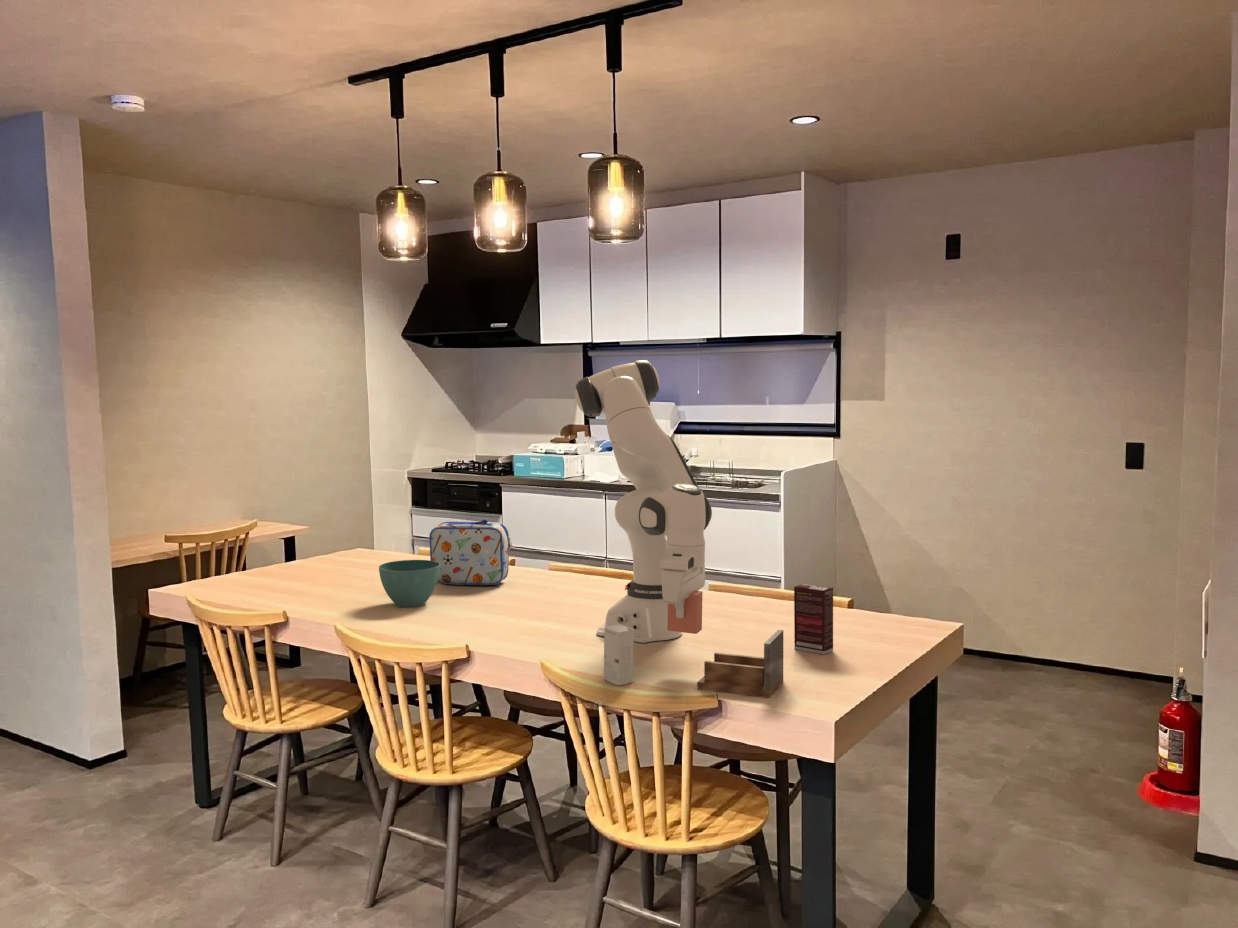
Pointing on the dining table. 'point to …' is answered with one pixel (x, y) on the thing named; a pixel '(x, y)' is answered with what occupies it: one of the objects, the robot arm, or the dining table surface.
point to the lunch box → (470, 552)
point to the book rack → (746, 671)
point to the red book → (687, 615)
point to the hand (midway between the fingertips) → (684, 614)
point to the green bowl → (409, 581)
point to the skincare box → (618, 654)
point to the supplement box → (813, 618)
